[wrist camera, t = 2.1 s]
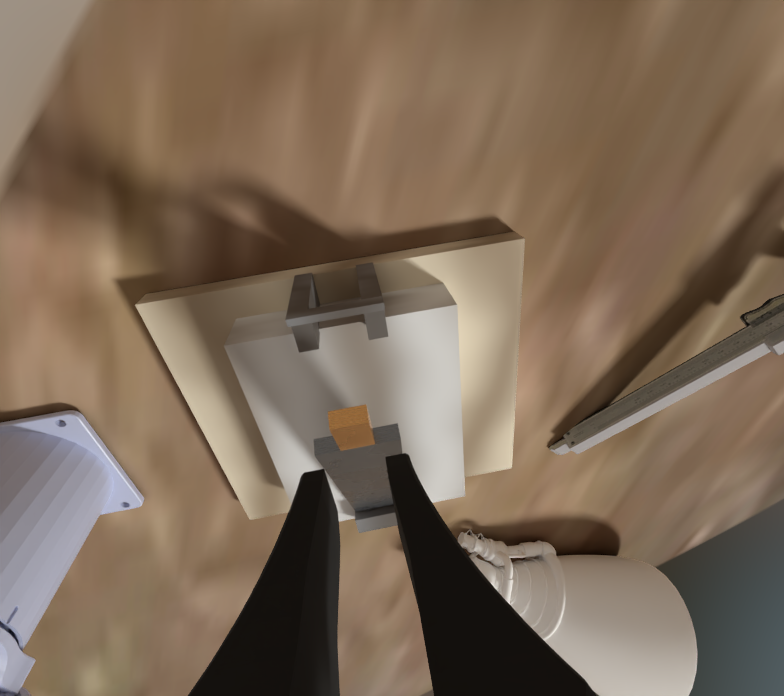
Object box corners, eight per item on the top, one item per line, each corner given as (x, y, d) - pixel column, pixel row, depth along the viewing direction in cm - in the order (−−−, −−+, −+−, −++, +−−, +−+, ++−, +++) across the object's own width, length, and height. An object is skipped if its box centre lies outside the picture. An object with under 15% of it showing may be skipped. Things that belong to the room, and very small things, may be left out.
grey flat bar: (355, 502, 23) (356, 513, 22) (298, 416, 12) (299, 435, 12) (406, 492, 23) (408, 503, 23) (394, 398, 12) (398, 416, 12)
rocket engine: (451, 689, 24) (683, 765, 27) (505, 503, 27) (708, 587, 30) (403, 606, 35) (570, 665, 38) (445, 480, 38) (597, 543, 41)
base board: (252, 504, 27) (236, 588, 22) (144, 292, 18) (80, 355, 14) (505, 454, 28) (541, 525, 23) (514, 229, 19) (574, 269, 14)
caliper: (827, 214, 21) (989, 249, 16) (833, 226, 22) (993, 265, 17) (546, 444, 28) (595, 522, 23) (555, 450, 29) (605, 528, 23)
